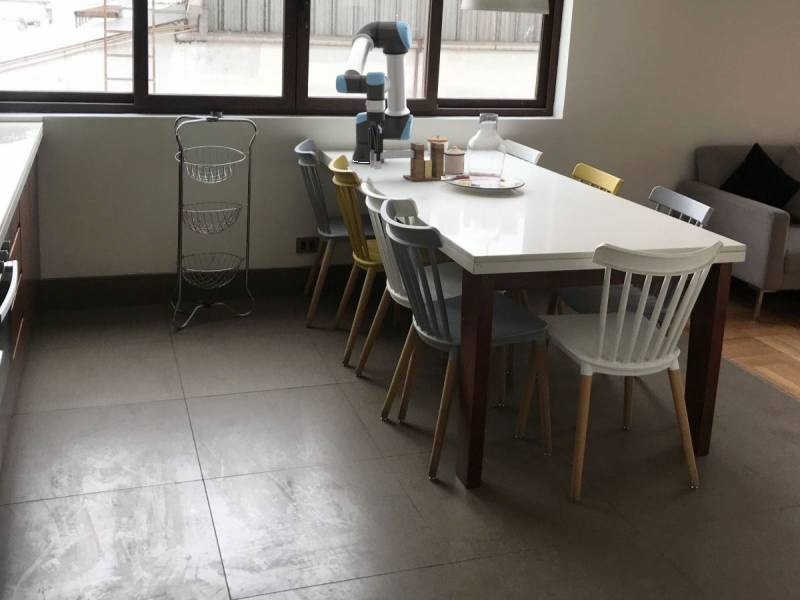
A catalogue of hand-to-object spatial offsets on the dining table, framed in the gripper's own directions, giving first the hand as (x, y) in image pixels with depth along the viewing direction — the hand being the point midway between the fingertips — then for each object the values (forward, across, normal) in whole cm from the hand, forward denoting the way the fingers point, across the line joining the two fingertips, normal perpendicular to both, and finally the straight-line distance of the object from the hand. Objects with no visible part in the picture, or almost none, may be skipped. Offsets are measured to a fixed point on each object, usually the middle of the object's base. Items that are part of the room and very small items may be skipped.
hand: (375, 168), depth 394 cm
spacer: (+5, 0, +22) cm, 23 cm away
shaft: (-3, 0, +9) cm, 9 cm away
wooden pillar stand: (+6, 0, +23) cm, 24 cm away
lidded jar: (+6, -67, +55) cm, 87 cm away
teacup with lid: (+6, -13, +40) cm, 43 cm away
